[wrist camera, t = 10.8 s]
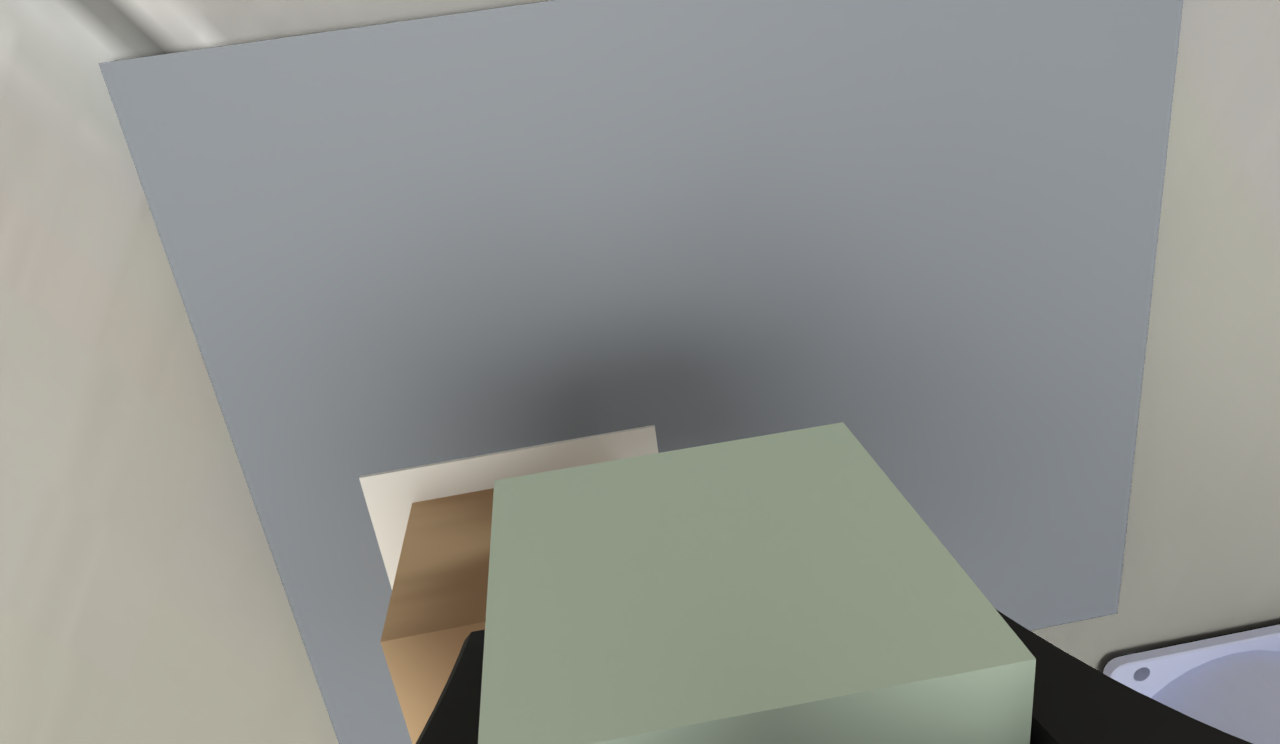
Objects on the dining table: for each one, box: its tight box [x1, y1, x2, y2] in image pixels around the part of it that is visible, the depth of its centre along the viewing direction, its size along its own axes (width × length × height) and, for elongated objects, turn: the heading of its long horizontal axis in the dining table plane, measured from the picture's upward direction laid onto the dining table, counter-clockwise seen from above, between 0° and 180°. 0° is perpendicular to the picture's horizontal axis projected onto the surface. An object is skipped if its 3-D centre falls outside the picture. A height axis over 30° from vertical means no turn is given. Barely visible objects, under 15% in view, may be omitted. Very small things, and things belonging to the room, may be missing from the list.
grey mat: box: [99, 0, 1183, 744], centre depth 21 cm, size 22×18×1 cm
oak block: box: [380, 488, 494, 744], centre depth 19 cm, size 5×5×5 cm
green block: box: [478, 422, 1036, 744], centre depth 11 cm, size 5×5×5 cm
